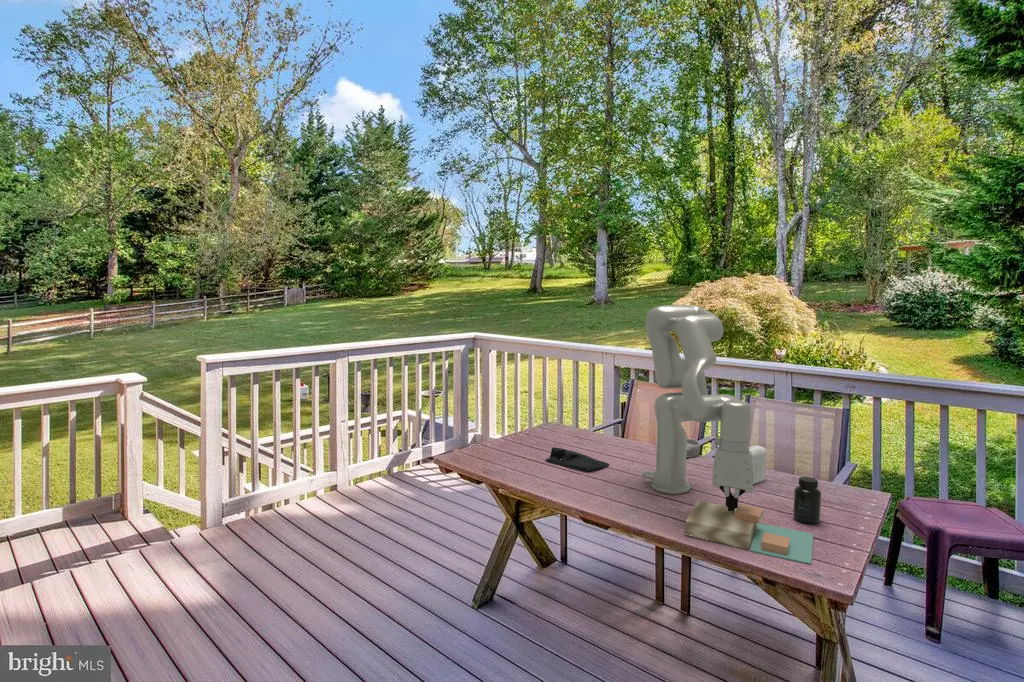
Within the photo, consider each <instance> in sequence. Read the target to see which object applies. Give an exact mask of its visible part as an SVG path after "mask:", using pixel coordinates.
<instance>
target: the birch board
mask: <svg viewBox="0 0 1024 682" xmlns="http://www.w3.org/2000/svg"><path fill="white" fill-rule="evenodd" d="M736 509H737V508H735V511H736ZM735 511H734V512H732V511H728V507H727V506H726V505H723V504H718V503H713V502H709V501H703V500H697V501H696V503H695V504H694V506H693V508H692V510H691V512H690V513H689V515H688V516H687V518H686V520H685V531H684V534H688V535H692V536H695V537H698V538H697V539H699V538H702V539H701V540H704V539H706V540H705V541H708V540H711V541H710V542H713V541H715V542H714V543H718V542H720V543H719V544H722V543H724V544H723V545H727V544H728V545H727V546H731V545H732V547H737V548H739V549H740V548H741V549H746V550H750V547H751V544H752V540H753V537H754V534H755V530H756V527H757V523H753V522H749V521H744V520H740V519H736V518H735ZM695 537H694V538H695Z"/></svg>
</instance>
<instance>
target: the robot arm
mask: <svg viewBox="0 0 1024 682" xmlns="http://www.w3.org/2000/svg"><path fill="white" fill-rule="evenodd" d="M670 332H676V335H677V340H678V343H679V345H680V347H681V351H682V354H683V356H684V358H681V357H680V350H679V349H680V348H679V345H678V343H677V341H676V339H675V338H674V337H673V336H672V335H671V334H670ZM645 333H646V335H647V338H648V341H649V344H650V347H651V351H652V353H651V354H652V360H653V361H652V362H653V367H654V368H653V370H654V375H655V381H656V383H657V385H658V386H659V388H661V389H665V390H666V389H667V390H668V389H670V390H671V389H672V390H673V389H681V392H680V391H678V392H677V391H676V392H666V393H663V394H661V395H659V396H658V397H657V398H656V399H655V402H654V414H655V420H656V453H655V455H656V456H655V457H656V459H655V470H653V471H650V470H643V477H644V478H645V479H650V480H651V481H650V486H651V488H652V490H655V491H657V492H659V493H664V494H669V495H682V494H686V493H688V492H690V491H691V484H690V483H689V482H687V478H686V477H687V458H688V457H687V438H688V435H687V432H686V430H685V428H684V427H683V426H682V423H685V422H698V423H711V422H720V426H719V428H720V430H719V433H720V434H719V437H718V438H714V441H713V443H714V444H716V445H718V447H717V448H716V449H715V454H714V459H713V466H712V467H713V468H712V476H711V477H712V478H711V479H712V480H711V481H712V483H711V486H712V487H715V488H717V489H720V490H721V492H723V494H724V496H725V506H727V507H728V511H732V512H734V511H735V508H738V507H739V497H741V496H742V495H744V494H752V493H754V490H755V489H754V488H755V487H754V486H753V485H754V484H752V483H753V459H752V453H751V451H750V450H749V447H750V435H751V434H750V433H751V415H752V412H751V411H752V408H751V404H750V403H749V402H747V401H746V400H741V399H738V398H736V397H735V396H733V395H731V394H727V393H723V394H722V393H720V394H708V388H707V381H706V375H705V371H707V370H708V369H710V368H711V367H713V366H714V365H715V364H716V362H717V355H716V353H715V351H714V349H713V346H712V343H713V342H717V341H719V340H721V338H723V335H724V324H723V323H722V320H721V319H720V318H719V316H717V315H716V314H714V313H713V312H711V311H709V310H706V309H704V308H702V307H700V306H697V305H695V304H693V305H692V304H679V305H678V304H677V305H675V304H668V305H658V306H655V307H653V308H651V309H650V310H649V311H648V312H647V315H646V318H645ZM686 457H687V458H686ZM732 489H734V491H733V492H734V493H732Z"/></svg>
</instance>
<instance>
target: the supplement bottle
mask: <svg viewBox="0 0 1024 682" xmlns="http://www.w3.org/2000/svg"><path fill="white" fill-rule="evenodd" d="M798 478H799V479H798V483H797V484H798V486H796V487H795V488H794V493H793V508H792V509H793V511H792V512H793V515H792V517H793V519H794V520H796V521H797V522H799V523H802V524H806V525H817V524H819V523H820V522H821V509H822V508H821V507H822V492H821V490H820V489H819V480H818V479H816V478H814V477H810V476H800V477H798Z"/></svg>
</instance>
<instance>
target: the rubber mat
mask: <svg viewBox="0 0 1024 682" xmlns="http://www.w3.org/2000/svg"><path fill="white" fill-rule="evenodd" d="M764 533H769V534H774V535H779V536H783V537H788V538H790V546H789V550H788V554H787V555H784V554H780V553H776V552H771V551H767V550H763V549H761V542H762V539H763V536H764ZM813 542H814V533H810V532H807V531H800V530H796V529H792V528H791V529H790V528H786V527H781V526H776V525H770V524H766V523H761V522H759V524H756V528H755V532H754V535H753V539H752V542H751V545H750V549H749V552H752V553H756V554H760V555H765V556H770V557H775V558H779V559H783V560H788V561H793V562H797V563H801V562H802V564H805V563H808V564H807V565H810V564H811V565H812V560H813V559H812V557H813V547H814V546H813V545H814V544H813Z"/></svg>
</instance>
